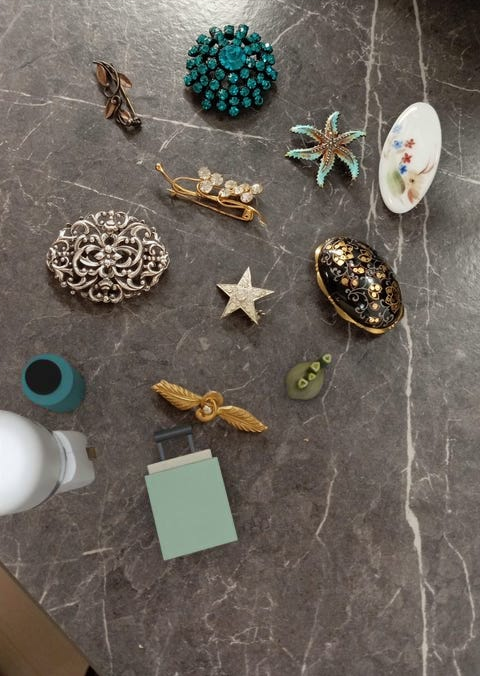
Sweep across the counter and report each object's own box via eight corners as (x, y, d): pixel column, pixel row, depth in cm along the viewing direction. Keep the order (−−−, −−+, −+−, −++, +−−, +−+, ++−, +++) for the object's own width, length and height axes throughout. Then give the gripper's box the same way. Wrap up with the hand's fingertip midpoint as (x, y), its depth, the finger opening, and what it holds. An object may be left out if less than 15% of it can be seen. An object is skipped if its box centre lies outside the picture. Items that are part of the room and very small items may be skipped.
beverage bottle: (97, 380, 123) (81, 362, 104) (72, 424, 122) (51, 414, 102) (55, 358, 124) (31, 335, 104) (30, 401, 122) (1, 386, 103)
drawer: (142, 437, 121) (140, 434, 115) (201, 421, 122) (202, 418, 115) (165, 537, 118) (164, 540, 112) (226, 520, 119) (228, 523, 112)
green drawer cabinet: (147, 476, 121) (144, 476, 112) (215, 458, 122) (217, 456, 114) (165, 555, 118) (163, 560, 110) (234, 536, 119) (238, 540, 111)
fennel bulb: (316, 359, 126) (330, 347, 114) (328, 393, 125) (343, 384, 113) (277, 372, 125) (287, 361, 113) (288, 406, 124) (299, 398, 112)
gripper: (-65, 535, 73) (-16, 525, 90) (117, 486, 74) (130, 485, 92) (-81, 443, 74) (-30, 450, 92) (97, 398, 76) (113, 413, 94)
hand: (50, 468), depth 92 cm, fingers closed
